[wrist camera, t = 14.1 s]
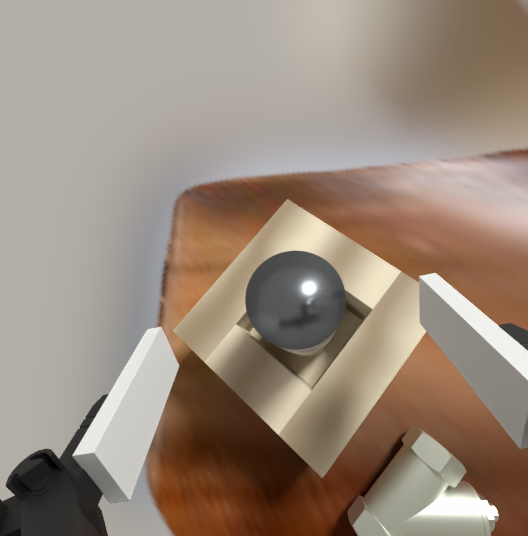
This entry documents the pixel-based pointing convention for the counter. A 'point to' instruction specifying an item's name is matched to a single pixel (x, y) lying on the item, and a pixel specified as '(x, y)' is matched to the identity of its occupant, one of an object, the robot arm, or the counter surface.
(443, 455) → the pipe fitting
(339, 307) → the capped cylinder
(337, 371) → the socket block
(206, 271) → the counter surface
